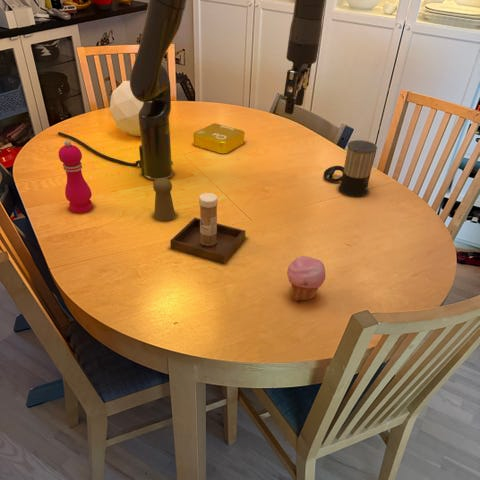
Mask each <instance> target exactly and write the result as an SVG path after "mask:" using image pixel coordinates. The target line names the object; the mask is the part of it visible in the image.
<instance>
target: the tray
mask: <svg viewBox="0 0 480 480" xmlns="http://www.w3.org/2000/svg"><path fill="white" fill-rule="evenodd" d="M246 233H247V232H246V230H244V229H240V228H237V227H233V226H229V225H225V224H221V223H218V222H217V233H216V240H217V243H216V244H215V245H213V246H204V245H202V244H201V242H200V239H201V232H200V217H199V218H198V217H193V218H192V220H190V221H189V222H188V223H187V224H186V225H185V226H184V227H183V228H182V229H181V230H179V232H178V233H177V234H176V235H175V236H174V237H172V238H171V239H170V243H169V244H170V249H171V250H175V251H178V252H181V253H184V254H188V255H192V256H195V257H198V258H202V259H205V260H209V261H212V262H216V263H218V264H223V265H224V264H225V263H226V262H227V261H228V260H229V259H230V258H231V256H232V255H233V254H234V253H235V251H236V250H237V249H238V248H239V247H240V245H241V244H242V243H243V242H244V241H245V240H246Z"/></svg>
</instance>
